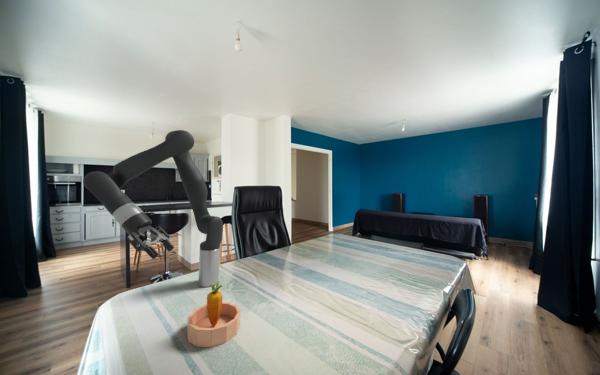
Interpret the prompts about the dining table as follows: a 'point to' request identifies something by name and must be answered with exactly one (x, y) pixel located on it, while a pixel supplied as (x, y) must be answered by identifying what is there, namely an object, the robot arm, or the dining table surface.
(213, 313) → the carrot
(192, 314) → the terracotta bowl
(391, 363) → the dining table surface
